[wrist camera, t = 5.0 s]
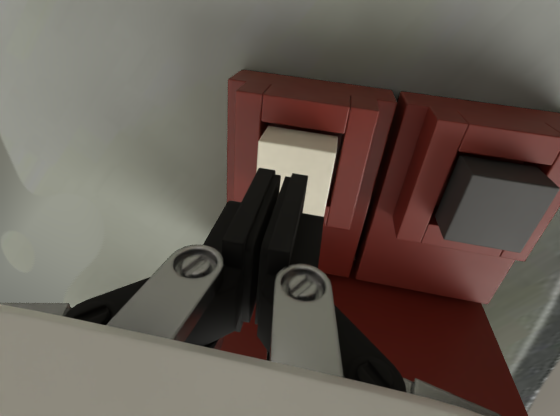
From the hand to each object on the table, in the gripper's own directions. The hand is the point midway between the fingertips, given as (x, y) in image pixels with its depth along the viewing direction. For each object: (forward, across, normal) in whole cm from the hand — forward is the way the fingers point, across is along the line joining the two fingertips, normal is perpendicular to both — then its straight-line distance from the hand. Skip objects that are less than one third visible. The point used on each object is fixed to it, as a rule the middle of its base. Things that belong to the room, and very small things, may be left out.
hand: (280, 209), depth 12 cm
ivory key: (+5, 0, +1) cm, 5 cm away
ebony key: (+5, -8, +1) cm, 10 cm away
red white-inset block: (+9, 0, +3) cm, 10 cm away
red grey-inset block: (+9, -8, +3) cm, 13 cm away
